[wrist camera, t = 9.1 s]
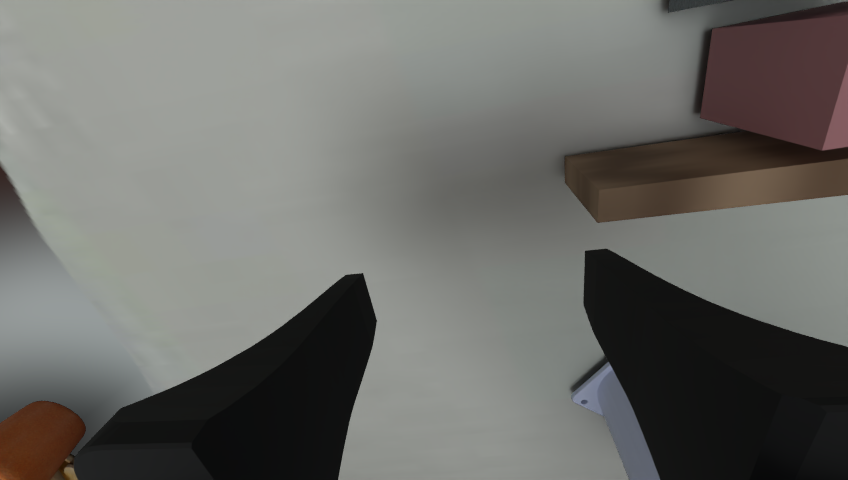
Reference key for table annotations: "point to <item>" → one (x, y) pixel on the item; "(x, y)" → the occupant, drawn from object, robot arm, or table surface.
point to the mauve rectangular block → (783, 77)
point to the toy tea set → (40, 443)
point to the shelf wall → (703, 175)
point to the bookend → (690, 4)
